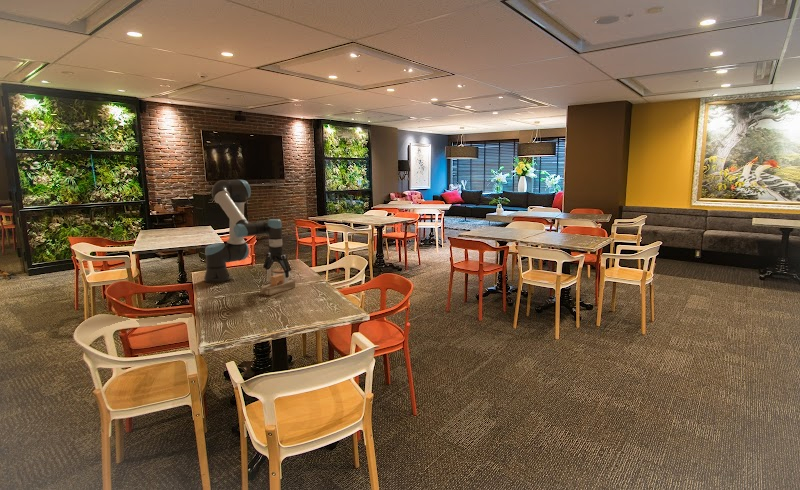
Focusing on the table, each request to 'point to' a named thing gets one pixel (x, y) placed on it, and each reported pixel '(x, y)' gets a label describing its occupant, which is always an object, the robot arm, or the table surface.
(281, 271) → the lidded jar
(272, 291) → the brown wooden block
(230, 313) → the table surface
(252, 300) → the table surface
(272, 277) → the wooden arch block
